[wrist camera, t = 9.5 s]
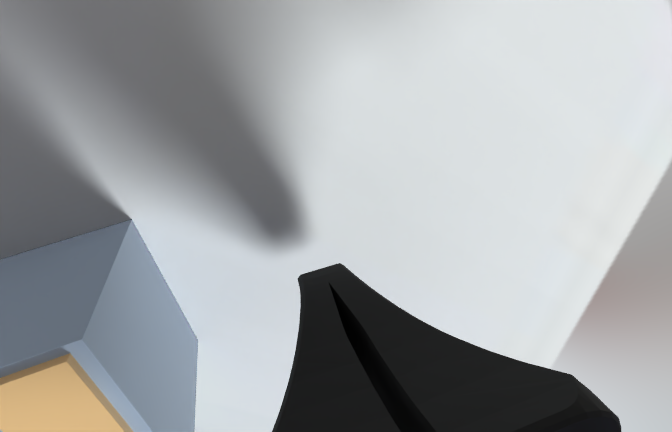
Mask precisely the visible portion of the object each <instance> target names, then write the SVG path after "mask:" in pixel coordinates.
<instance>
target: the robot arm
mask: <svg viewBox="0 0 672 432" xmlns="http://www.w3.org/2000/svg"><path fill="white" fill-rule="evenodd" d="M298 282H299V286H300V294H301V309H300V324H299V332H298V339H297V345H296V351H295V356H294V361H293V366H292V370H291V374H290V378H289V382H288V386H287V389H286V392H285V396H284V399H283V402H282V406H281V409H280V412H279V415H278V418H277V420H276V423H275V425H274V428H273V431H272V432H621V425H620V421H619V418H618V417H617V416H616V415H615V414H614V413H613V412H612V411H611V410H610V409H609V408H608V407H607V406H606V405H605V404H604V403H603V402H602V401H601V400H600V399H599V398H598V397H597V396H596V395H595V394H593V393H592V392H591V391H590V390H589V389H588V388H587V387H585V386H584V385H583V384H582V383H581V382H579V381H578V380H577V379H576V378H575V377H574V376H572V375H570V374H567V373H562V372H559V371H555V370H551V369H548V368H544V367H540V366H536V365H532V364H528V363H525V362H521V361H518V360H515V359H512V358H509V357H506V356H503V355H500V354H497V353H494V352H491V351H488V350H485V349H483V348H480V347H478V346H475V345H473V344H470V343H468V342H465V341H463V340H460V339H458V338H455V337H453V336H451V335H449V334H446V333H444V332H442V331H440V330H438V329H436V328H434V327H432V326H430V325H428V324H426V323H425V322H423V321H421V320H419V319H417V318H416V317H414V316H412V315H411V314H409V313H407V312H406V311H404V310H402V309H401V308H399V307H398V306H396V305H395V304H393V303H392V302H390V301H389V300H387V299H386V298H384V297H383V296H382V295H380V294H379V293H377V292H376V291H375V290H373V289H372V288H371V287H369V286H368V285H367V284H365V283H364V282H363V281H362V280H360V279H359V278H358V277H357V276H355V275H354V274H353V273H352V272H351V271H350V270H348V269H347V268H346V267H345V266H344V265H342V264H340V263H339V264H335V265H332V266H329V267H325V268H322V269H318V270H315V271H312V272H308V273H305V274H302V275H300V276H299V278H298Z"/></svg>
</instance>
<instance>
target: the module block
mask: <svg viewBox="0 0 672 432" xmlns="http://www.w3.org/2000/svg"><path fill="white" fill-rule="evenodd" d="M197 352H198V339H197V337H196V336H195V334H194V332H193V330H192V328H191V327H190V325H189V323H188V321H187V319H186V317H185V316H184V314H183V312H182V310H181V308H180V306H179V305H178V303H177V301H176V299H175V297H174V295H173V294H172V292H171V290H170V288H169V286H168V285H167V283H166V281H165V279H164V277H163V275H162V274H161V272H160V270H159V268H158V266H157V264H156V263H155V261H154V259H153V257H152V255H151V253H150V252H149V250H148V248H147V246H146V244H145V243H144V241H143V239H142V237H141V235H140V233H139V232H138V230H137V228H136V226H135V224H134V222H133V221H132V219H131V220H128V221H125V222H122V223H118V224H115V225H112V226H108V227H105V228H102V229H99V230H95V231H92V232H89V233H86V234H82V235H79V236H76V237H72V238H69V239H66V240H63V241H59V242H56V243H53V244H50V245H46V246H43V247H40V248H36V249H33V250H30V251H27V252H23V253H20V254H17V255H14V256H10V257H7V258H4V259H0V432H194V426H195V402H196V377H197Z"/></svg>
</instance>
